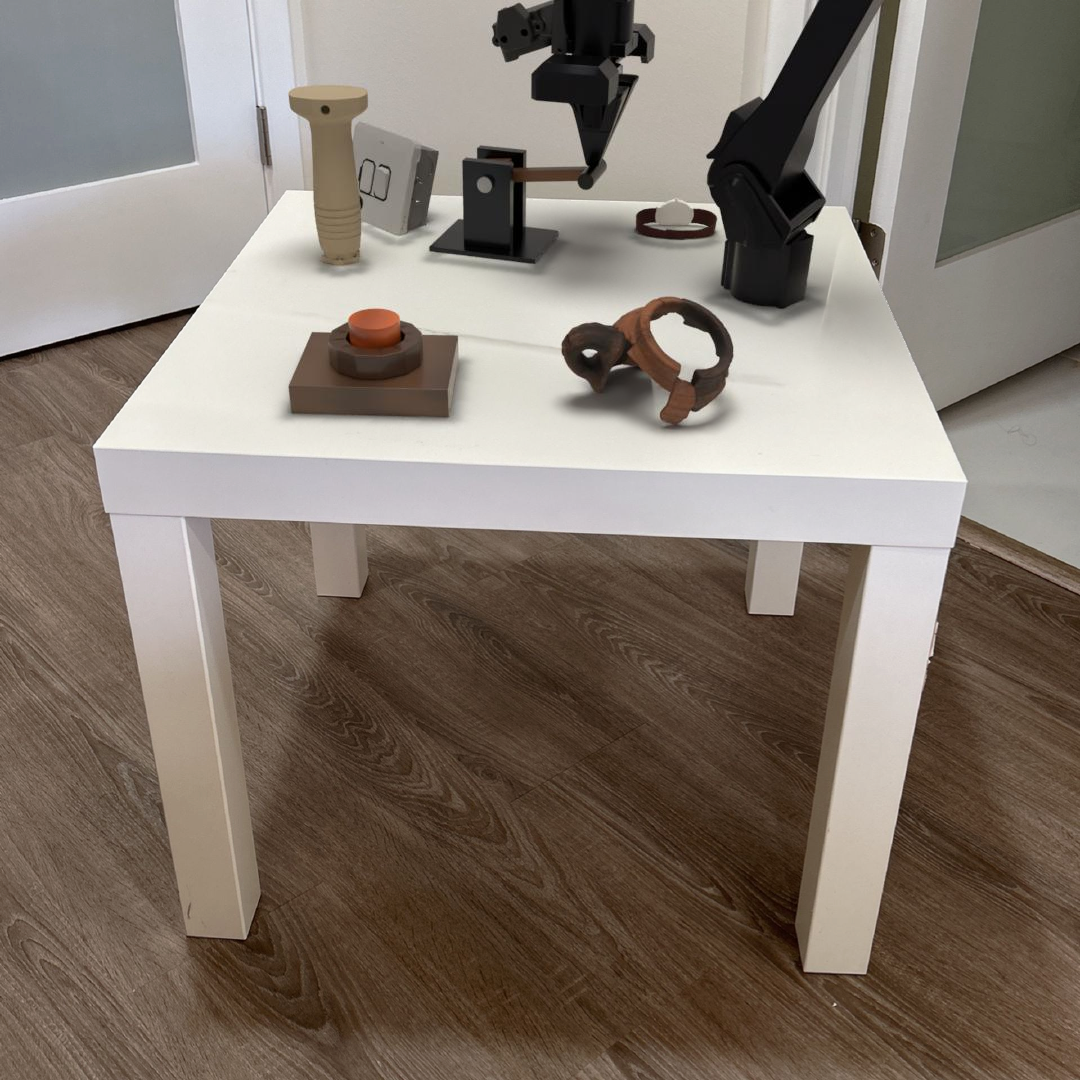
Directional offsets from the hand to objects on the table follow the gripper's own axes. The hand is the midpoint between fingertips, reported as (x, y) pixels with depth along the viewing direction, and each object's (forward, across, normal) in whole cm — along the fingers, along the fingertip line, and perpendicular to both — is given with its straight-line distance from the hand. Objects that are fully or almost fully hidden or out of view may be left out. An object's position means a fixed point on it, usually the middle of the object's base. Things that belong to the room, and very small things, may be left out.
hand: (593, 165), depth 103 cm
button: (+5, +29, -8) cm, 31 cm away
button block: (+9, +29, -8) cm, 32 cm away
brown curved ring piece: (+9, +25, +10) cm, 28 cm away
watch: (+9, -8, +6) cm, 14 cm away
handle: (+9, +8, -21) cm, 24 cm away
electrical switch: (+9, -3, -21) cm, 23 cm away
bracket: (+9, 0, -9) cm, 13 cm away
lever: (+2, 0, -5) cm, 5 cm away
